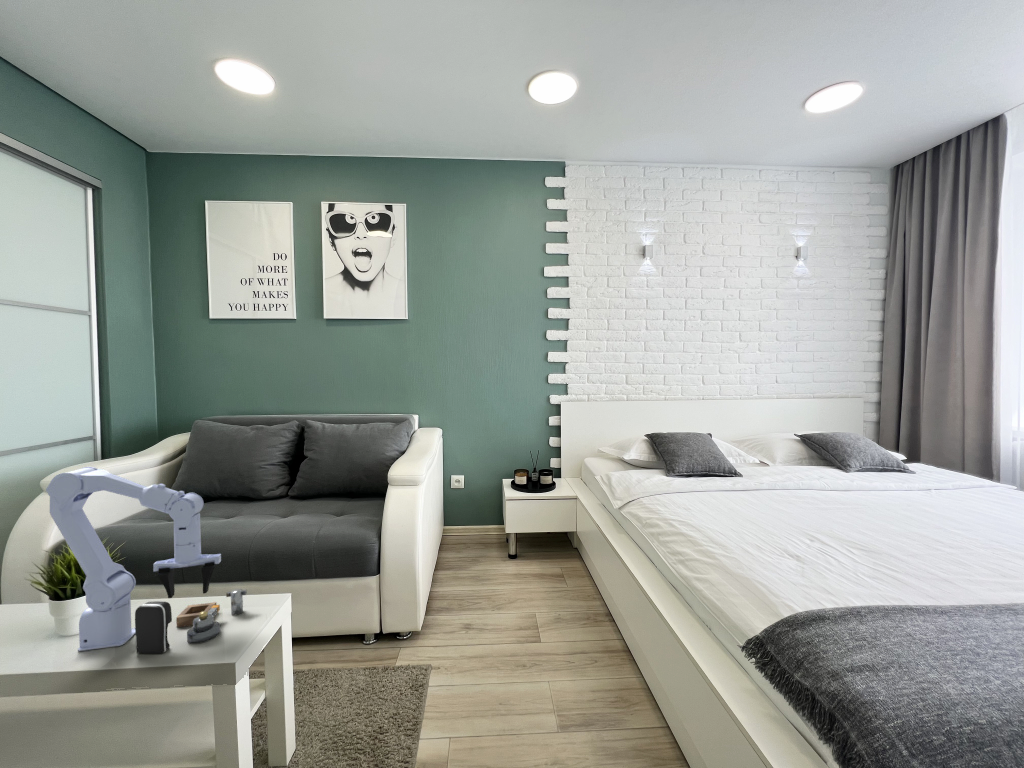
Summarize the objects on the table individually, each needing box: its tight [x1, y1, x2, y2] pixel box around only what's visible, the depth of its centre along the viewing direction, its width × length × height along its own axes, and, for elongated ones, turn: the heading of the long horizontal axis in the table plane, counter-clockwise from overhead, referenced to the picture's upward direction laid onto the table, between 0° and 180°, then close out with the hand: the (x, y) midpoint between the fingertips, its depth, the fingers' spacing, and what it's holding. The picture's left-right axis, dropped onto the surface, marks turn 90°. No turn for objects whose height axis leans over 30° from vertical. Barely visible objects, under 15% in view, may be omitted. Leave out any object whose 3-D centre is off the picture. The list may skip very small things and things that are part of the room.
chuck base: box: [186, 611, 221, 645], centre depth 119 cm, size 7×7×6 cm
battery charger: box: [134, 600, 173, 655], centre depth 113 cm, size 7×4×11 cm, turn 86°
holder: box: [175, 601, 217, 628], centre depth 128 cm, size 7×7×3 cm
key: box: [226, 588, 248, 616], centre depth 131 cm, size 5×3×6 cm, turn 103°
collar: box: [192, 604, 221, 632], centre depth 122 cm, size 4×11×2 cm, turn 13°
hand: (188, 594), depth 122 cm, fingers open, 7 cm apart
